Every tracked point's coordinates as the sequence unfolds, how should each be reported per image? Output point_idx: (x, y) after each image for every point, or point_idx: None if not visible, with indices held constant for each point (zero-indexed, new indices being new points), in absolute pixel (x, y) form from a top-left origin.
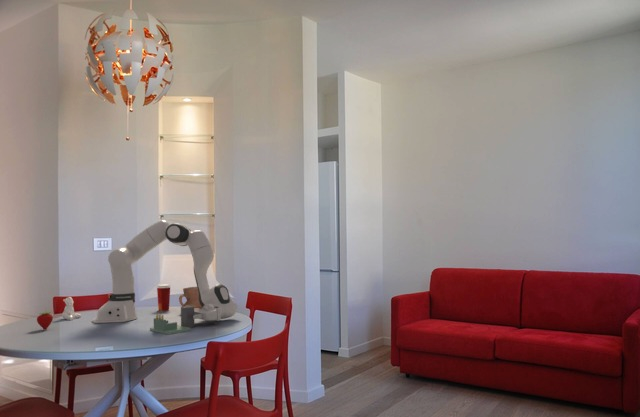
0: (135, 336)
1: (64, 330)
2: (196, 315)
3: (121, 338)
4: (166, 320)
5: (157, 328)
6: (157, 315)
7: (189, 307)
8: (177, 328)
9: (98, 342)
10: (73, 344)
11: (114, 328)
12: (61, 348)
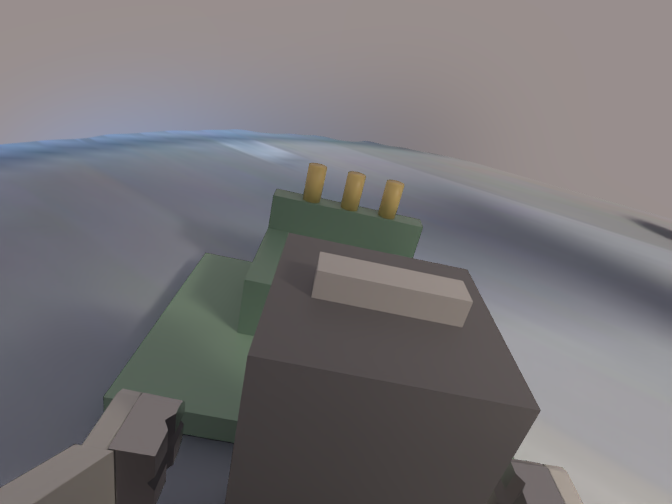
0: None
1: (666, 252)
2: (86, 443)
3: None
4: None
5: None
6: (385, 188)
7: (277, 266)
8: (237, 337)
9: None
10: (389, 169)
11: (639, 307)
12: (364, 153)
